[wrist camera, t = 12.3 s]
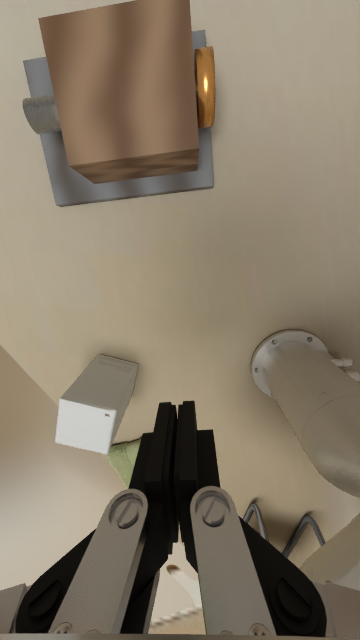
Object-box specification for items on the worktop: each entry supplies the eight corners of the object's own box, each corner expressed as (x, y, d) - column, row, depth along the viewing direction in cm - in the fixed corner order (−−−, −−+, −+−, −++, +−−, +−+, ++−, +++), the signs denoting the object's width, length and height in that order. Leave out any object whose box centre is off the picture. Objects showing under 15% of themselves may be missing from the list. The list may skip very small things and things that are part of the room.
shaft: (207, 74, 27) (212, 26, 21) (211, 136, 28) (216, 107, 22) (42, 101, 28) (3, 61, 22) (54, 158, 30) (21, 135, 24)
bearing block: (204, 38, 28) (210, -45, 20) (212, 188, 32) (219, 167, 24) (29, 68, 29) (-30, 1, 21) (60, 206, 34) (21, 193, 26)
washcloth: (142, 505, 51) (139, 521, 48) (106, 443, 46) (100, 457, 43) (198, 491, 49) (199, 507, 46) (166, 425, 45) (164, 438, 41)
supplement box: (98, 352, 40) (58, 396, 28) (139, 363, 40) (118, 411, 28) (91, 388, 42) (52, 443, 30) (131, 398, 43) (107, 457, 30)
